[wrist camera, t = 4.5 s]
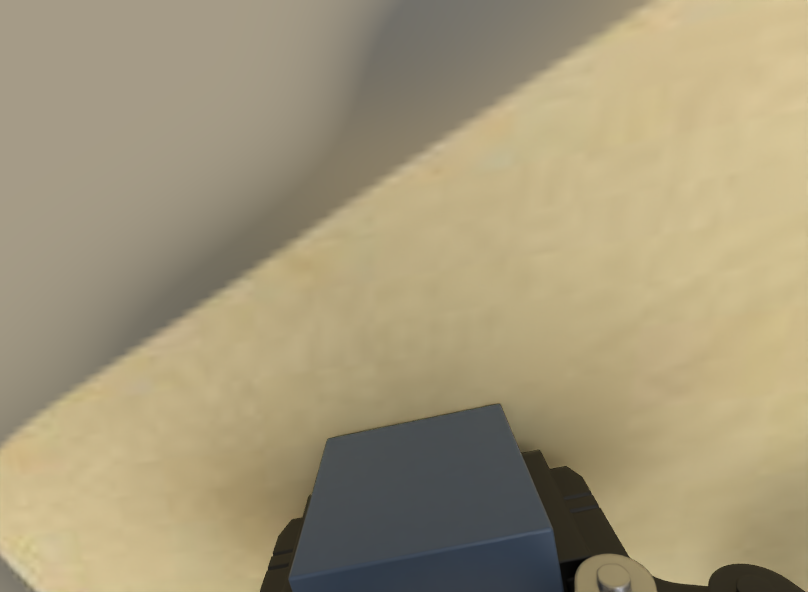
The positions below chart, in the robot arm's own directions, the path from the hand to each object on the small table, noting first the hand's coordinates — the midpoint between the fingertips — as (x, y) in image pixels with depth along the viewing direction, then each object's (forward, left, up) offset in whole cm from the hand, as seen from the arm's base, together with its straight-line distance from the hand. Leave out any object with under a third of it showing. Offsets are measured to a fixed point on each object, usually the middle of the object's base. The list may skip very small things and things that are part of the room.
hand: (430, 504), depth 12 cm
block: (0, 0, 0) cm, 0 cm away
